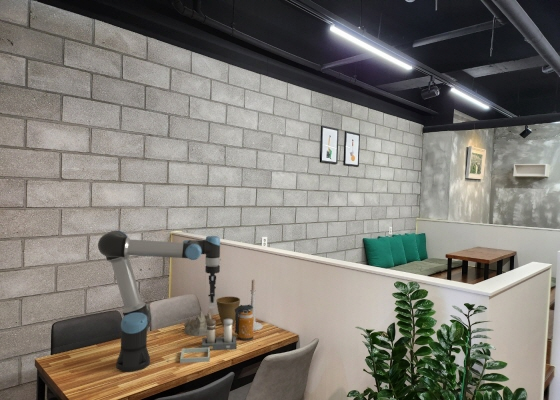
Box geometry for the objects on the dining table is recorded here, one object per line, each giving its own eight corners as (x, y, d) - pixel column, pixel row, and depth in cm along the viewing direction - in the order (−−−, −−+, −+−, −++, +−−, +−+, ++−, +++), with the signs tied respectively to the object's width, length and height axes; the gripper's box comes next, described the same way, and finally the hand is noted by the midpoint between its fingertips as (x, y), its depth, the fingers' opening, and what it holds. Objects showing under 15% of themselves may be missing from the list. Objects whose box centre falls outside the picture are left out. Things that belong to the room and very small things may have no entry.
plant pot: (231, 319, 251) (232, 295, 251) (244, 325, 240) (244, 300, 240) (211, 323, 242) (212, 298, 242) (223, 330, 230) (224, 304, 230)
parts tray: (180, 365, 183) (180, 358, 183) (182, 354, 195) (182, 348, 195) (209, 363, 186) (209, 357, 186) (209, 353, 198) (209, 347, 198)
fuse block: (201, 352, 198) (202, 345, 198) (202, 345, 208) (202, 337, 208) (236, 351, 201) (236, 343, 201) (235, 343, 211) (235, 336, 211)
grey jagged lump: (219, 332, 226) (217, 307, 226) (195, 341, 214) (194, 314, 214) (204, 327, 237) (202, 303, 237) (180, 335, 225) (179, 310, 225)
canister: (255, 341, 215) (256, 306, 214) (236, 343, 210) (237, 308, 210) (250, 335, 223) (251, 302, 222) (232, 338, 219) (233, 303, 218)
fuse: (223, 347, 202) (223, 321, 202) (223, 344, 207) (223, 318, 207) (232, 347, 203) (232, 321, 203) (231, 343, 208) (232, 318, 208)
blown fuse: (206, 348, 201) (206, 322, 200) (206, 344, 205) (206, 319, 205) (215, 348, 202) (215, 322, 201) (215, 344, 206) (215, 319, 206)
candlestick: (248, 332, 229) (249, 282, 228) (238, 325, 239) (239, 278, 239) (266, 328, 236) (267, 280, 235) (256, 322, 246) (257, 276, 246)
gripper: (220, 269, 191) (219, 311, 192) (219, 260, 216) (218, 297, 216) (205, 270, 190) (204, 312, 190) (205, 260, 214) (205, 298, 215)
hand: (212, 304), depth 203 cm, fingers open, 13 cm apart
